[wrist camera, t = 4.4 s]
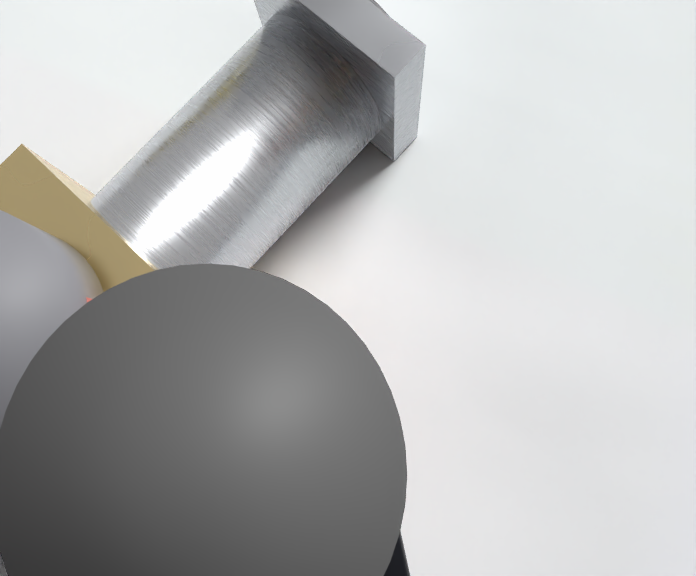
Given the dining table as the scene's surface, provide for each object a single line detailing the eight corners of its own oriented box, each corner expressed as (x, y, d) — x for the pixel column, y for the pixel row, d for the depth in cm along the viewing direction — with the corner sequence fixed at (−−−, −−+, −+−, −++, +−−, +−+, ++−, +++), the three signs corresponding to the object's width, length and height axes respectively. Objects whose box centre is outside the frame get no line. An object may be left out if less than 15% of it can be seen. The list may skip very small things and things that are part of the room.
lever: (-127, 403, 13) (-1003, 405, 5) (-49, 207, 14) (-702, -84, 6) (363, 560, 12) (301, 914, 4) (423, 337, 13) (482, 212, 4)
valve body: (-118, 741, 16) (-323, 878, 12) (-251, 571, 17) (-489, 635, 13) (443, 137, 18) (462, 44, 14) (294, 16, 19) (263, -109, 15)
